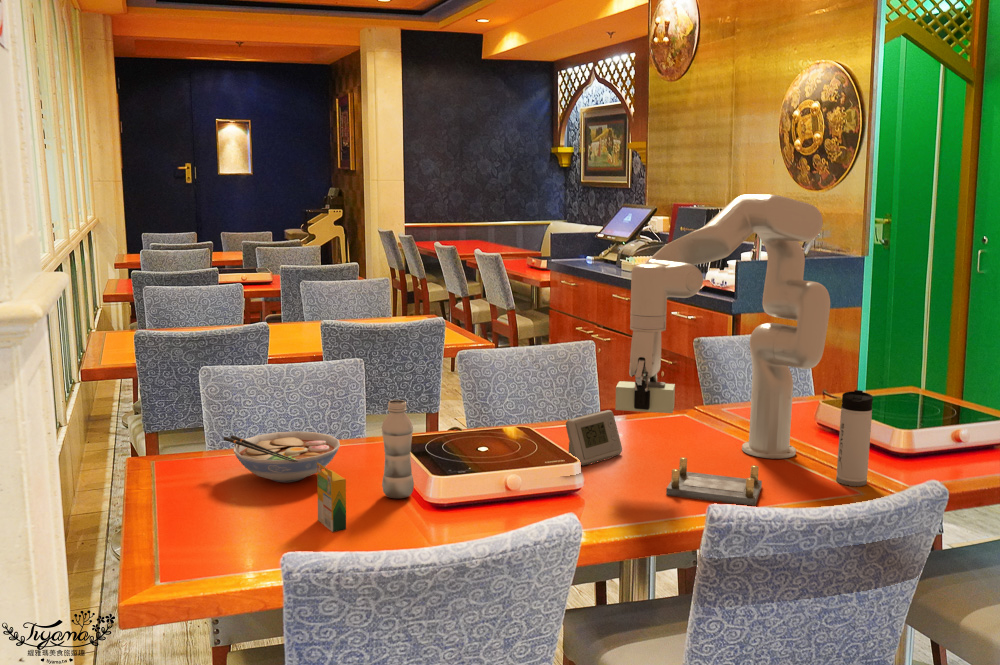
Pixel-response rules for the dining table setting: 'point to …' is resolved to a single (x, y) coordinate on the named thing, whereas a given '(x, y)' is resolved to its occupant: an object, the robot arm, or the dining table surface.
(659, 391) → the cream rectangular block
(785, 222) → the robot arm
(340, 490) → the crayon box
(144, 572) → the dining table surface
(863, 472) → the travel mug
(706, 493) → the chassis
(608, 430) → the digital clock
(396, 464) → the plastic bottle
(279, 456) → the ramen bowl
